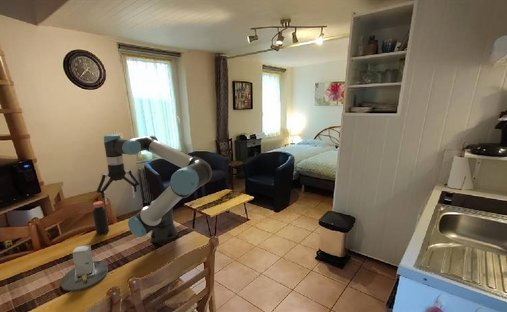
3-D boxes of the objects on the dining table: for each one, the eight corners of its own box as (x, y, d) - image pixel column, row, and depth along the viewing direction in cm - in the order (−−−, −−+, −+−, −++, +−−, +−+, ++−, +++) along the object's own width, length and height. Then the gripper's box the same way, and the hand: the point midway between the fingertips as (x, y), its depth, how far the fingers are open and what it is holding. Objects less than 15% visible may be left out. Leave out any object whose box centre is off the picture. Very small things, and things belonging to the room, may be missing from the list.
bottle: (100, 236, 144) (95, 206, 140) (93, 233, 147) (88, 203, 142) (111, 230, 150) (106, 201, 146) (104, 228, 153) (100, 199, 148)
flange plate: (106, 259, 123) (104, 249, 122) (109, 279, 109) (108, 269, 108) (62, 273, 113) (60, 263, 112) (60, 298, 99) (57, 287, 97)
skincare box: (75, 275, 108) (70, 252, 105) (80, 269, 112) (75, 246, 109) (90, 273, 109) (86, 250, 106) (94, 267, 113) (90, 244, 110)
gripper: (139, 158, 136) (143, 193, 141) (87, 165, 122) (93, 203, 127) (142, 161, 130) (146, 197, 135) (87, 168, 116) (94, 208, 121)
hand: (120, 200), depth 131 cm, fingers open, 13 cm apart
